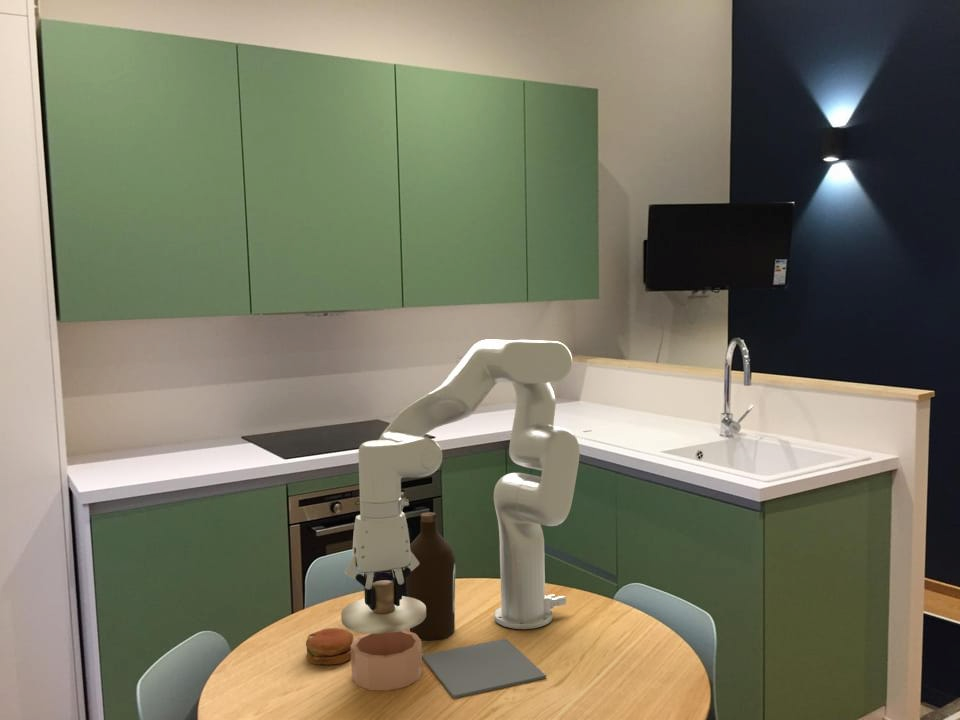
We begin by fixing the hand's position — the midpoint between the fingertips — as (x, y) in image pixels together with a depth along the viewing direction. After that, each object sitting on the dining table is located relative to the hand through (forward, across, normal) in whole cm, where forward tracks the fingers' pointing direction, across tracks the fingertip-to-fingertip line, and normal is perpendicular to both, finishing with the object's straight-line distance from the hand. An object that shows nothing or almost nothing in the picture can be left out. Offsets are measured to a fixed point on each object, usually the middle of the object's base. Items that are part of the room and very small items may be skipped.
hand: (383, 604), depth 155 cm
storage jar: (+13, -9, -29) cm, 33 cm away
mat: (+13, -17, +5) cm, 22 cm away
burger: (+14, +8, -13) cm, 20 cm away
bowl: (+13, 0, 0) cm, 13 cm away
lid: (+2, 0, 0) cm, 2 cm away
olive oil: (+13, -14, -15) cm, 25 cm away
